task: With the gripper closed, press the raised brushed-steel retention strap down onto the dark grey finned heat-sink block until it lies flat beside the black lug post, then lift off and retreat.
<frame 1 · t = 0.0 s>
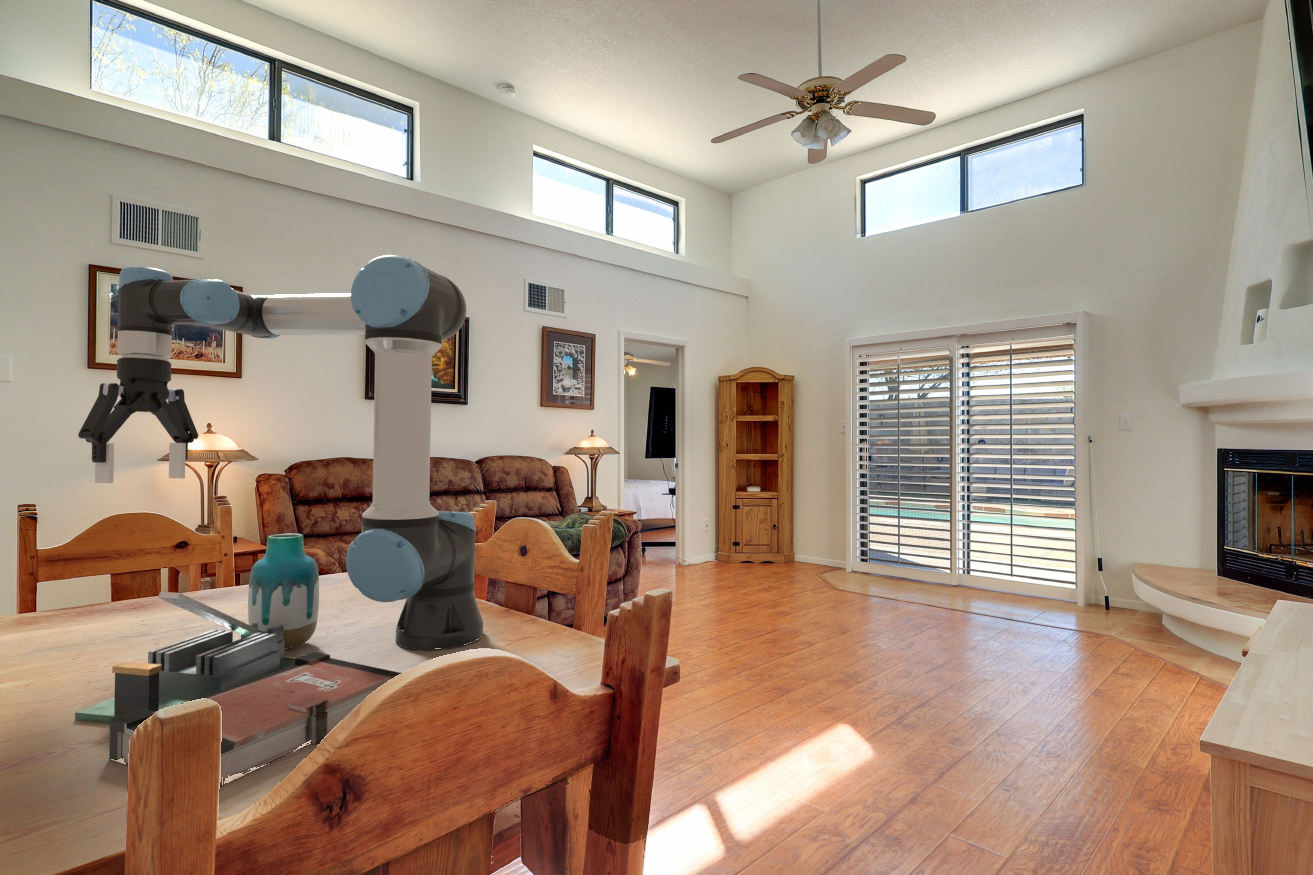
hand: (142, 480, 116), 28 cm above the table, fingers open, 13 cm apart
vase: (283, 648, 114), on the table
heatsink: (206, 689, 94), on the table
brown labeled slab: (272, 733, 83), on the table
strap: (219, 618, 97), point 10 cm above the table, hinge at 32.0°
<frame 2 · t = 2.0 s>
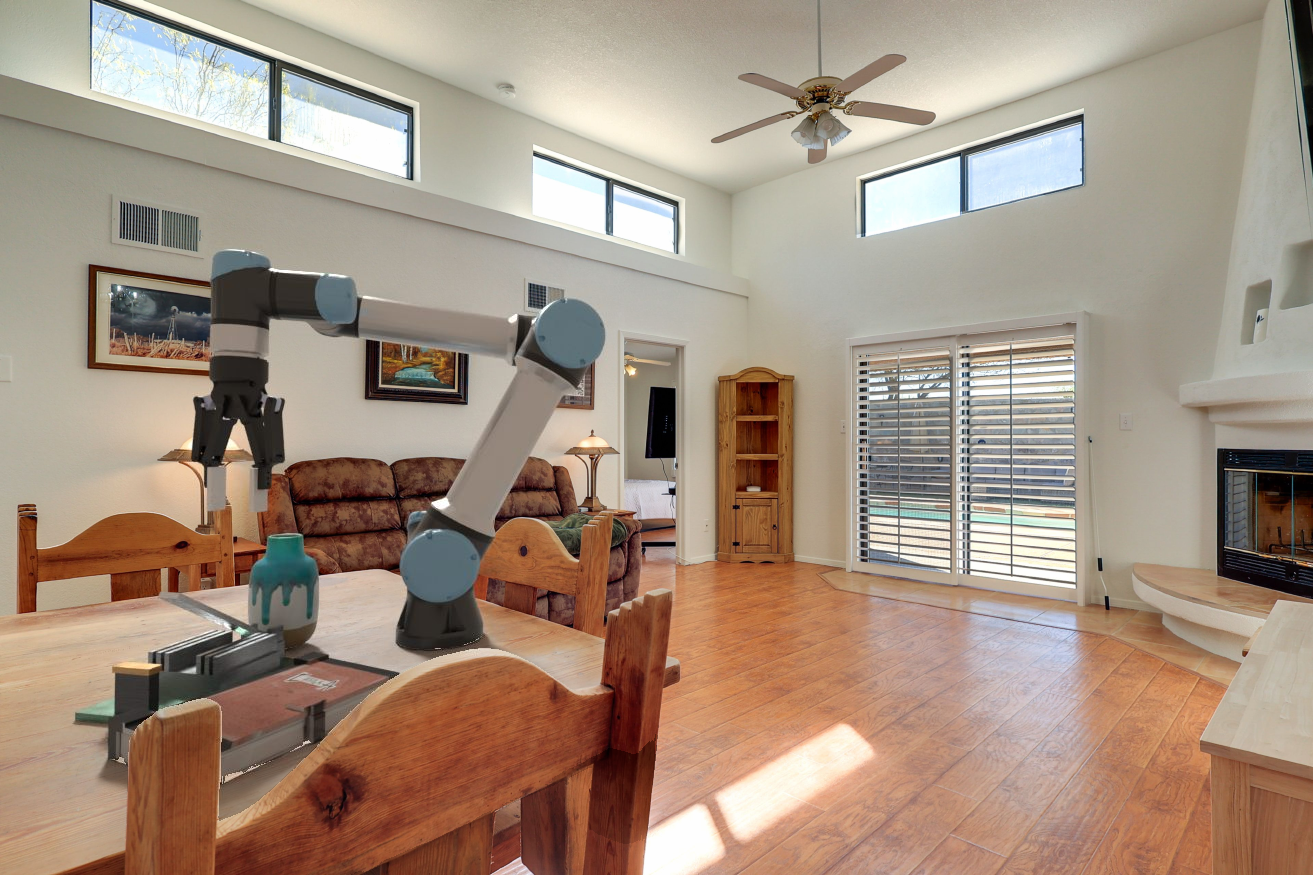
hand: (237, 510, 99), 25 cm above the table, fingers open, 6 cm apart
nothing on the table moved.
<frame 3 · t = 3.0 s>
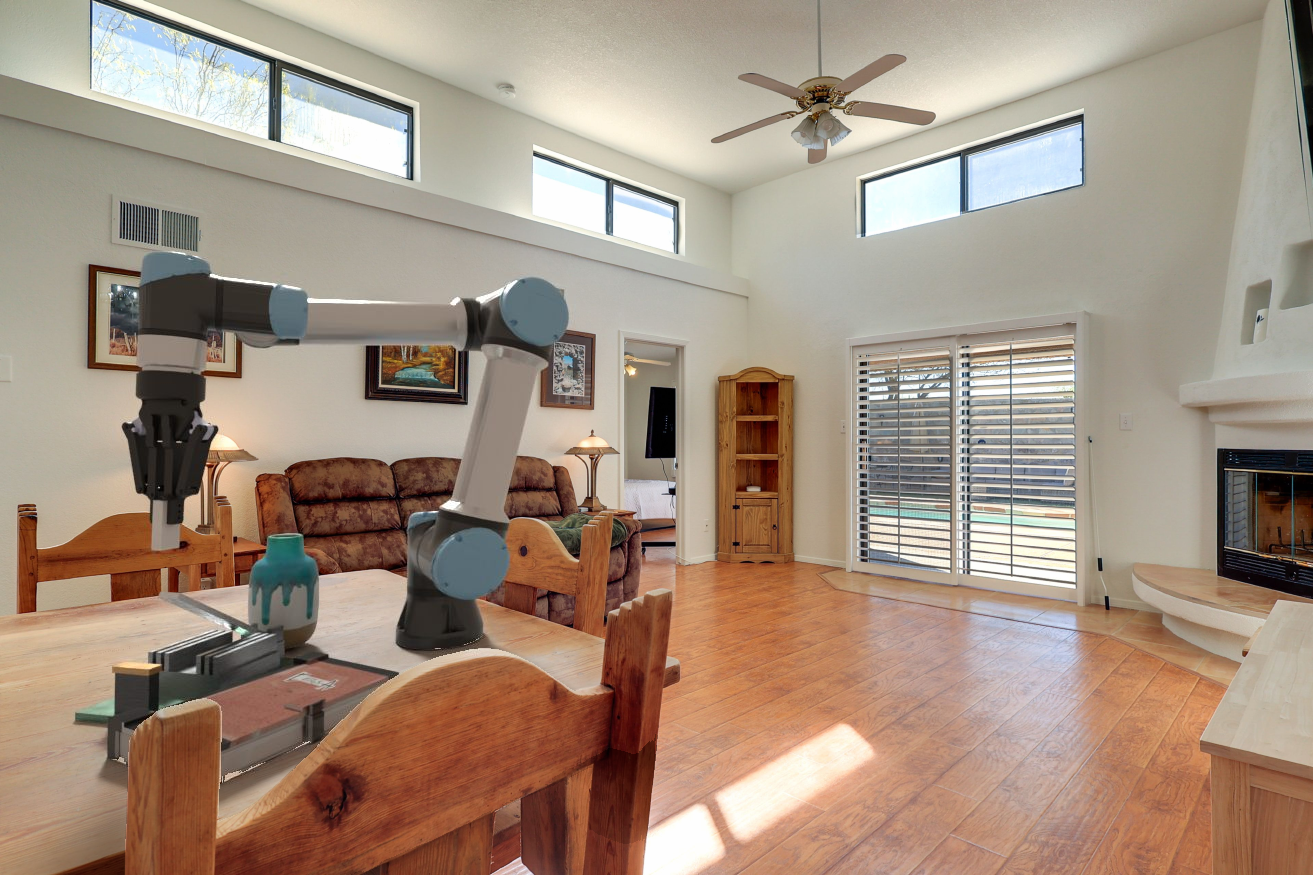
hand: (165, 548, 88), 21 cm above the table, fingers closed
nothing on the table moved.
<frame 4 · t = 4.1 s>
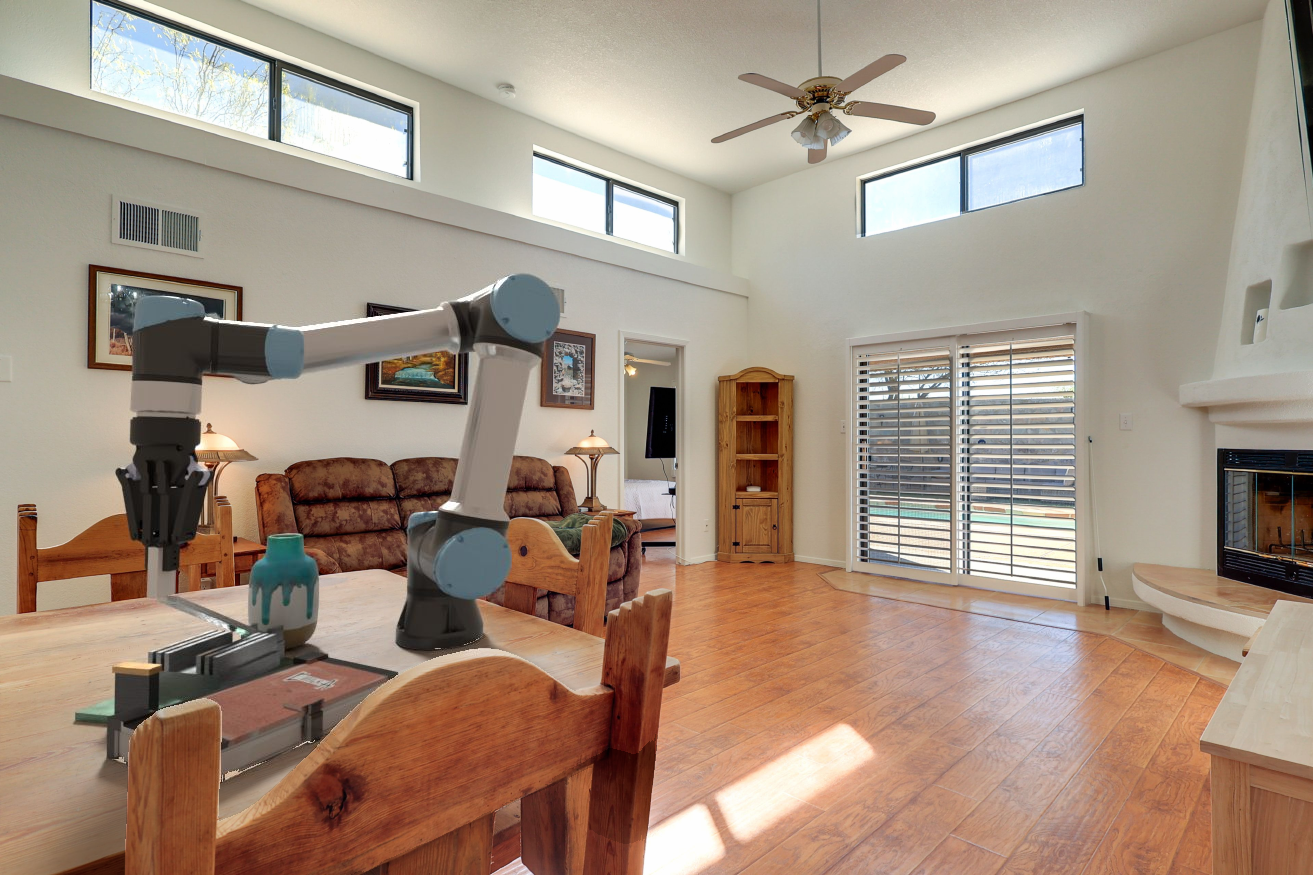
hand: (161, 595, 87), 15 cm above the table, fingers closed
strap: (218, 619, 96), point 9 cm above the table, hinge at 30.6°, touching gripper
everything else where it was.
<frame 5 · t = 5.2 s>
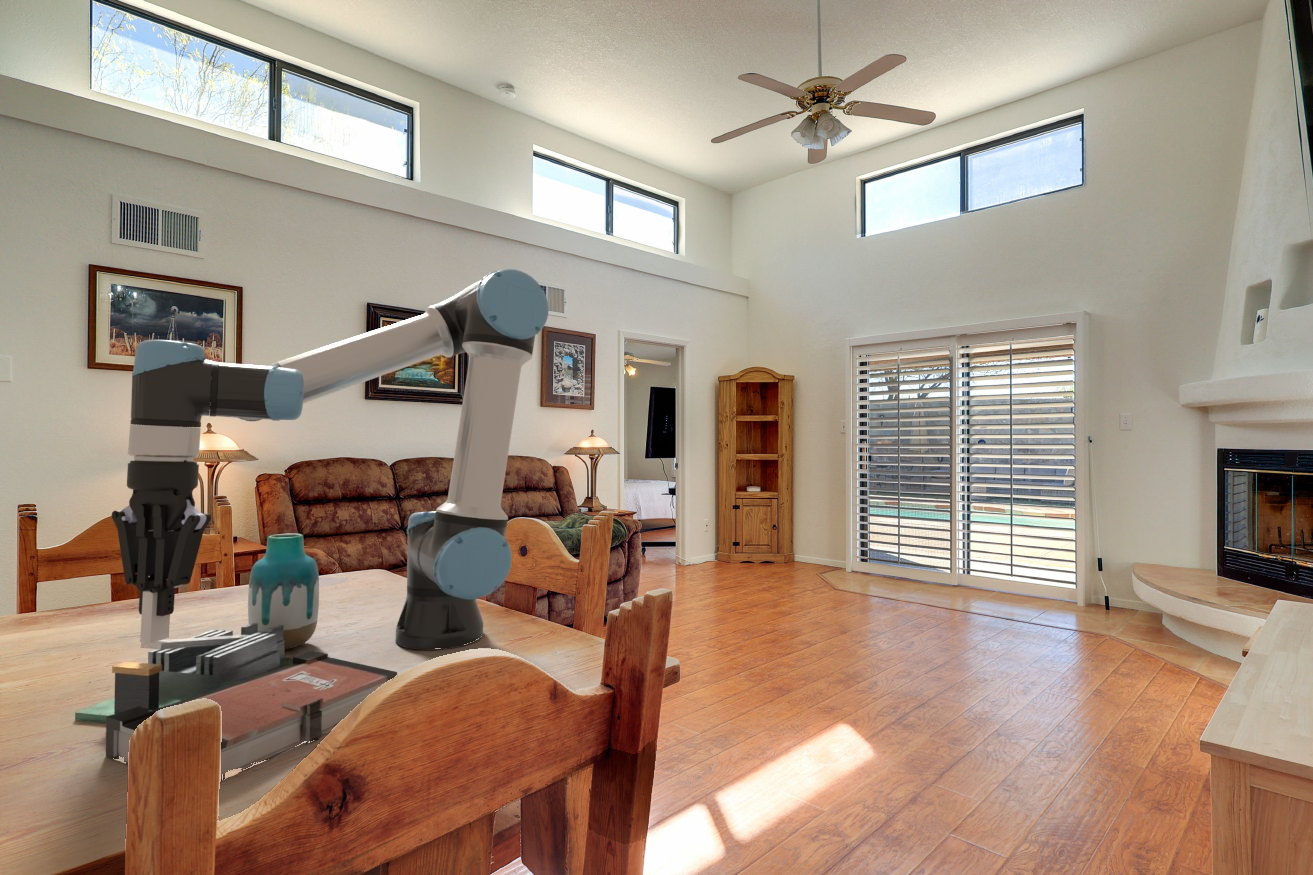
hand: (154, 639, 87), 9 cm above the table, fingers closed
strap: (212, 640, 95), point 7 cm above the table, hinge at 13.3°, touching gripper
everything else where it was.
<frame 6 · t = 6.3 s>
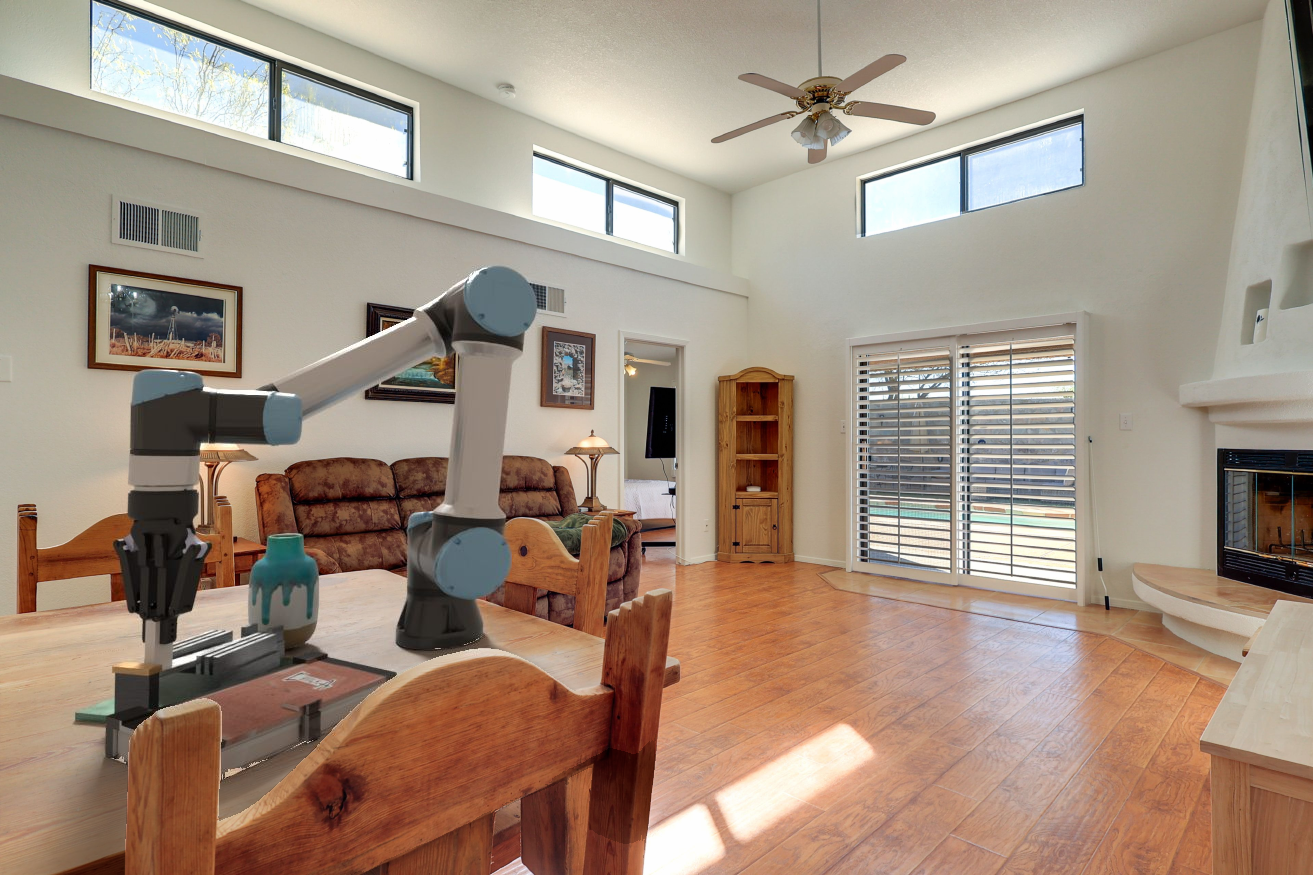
hand: (158, 667, 87), 6 cm above the table, fingers closed
strap: (210, 654, 95), point 5 cm above the table, hinge at 2.7°, touching gripper
everything else where it was.
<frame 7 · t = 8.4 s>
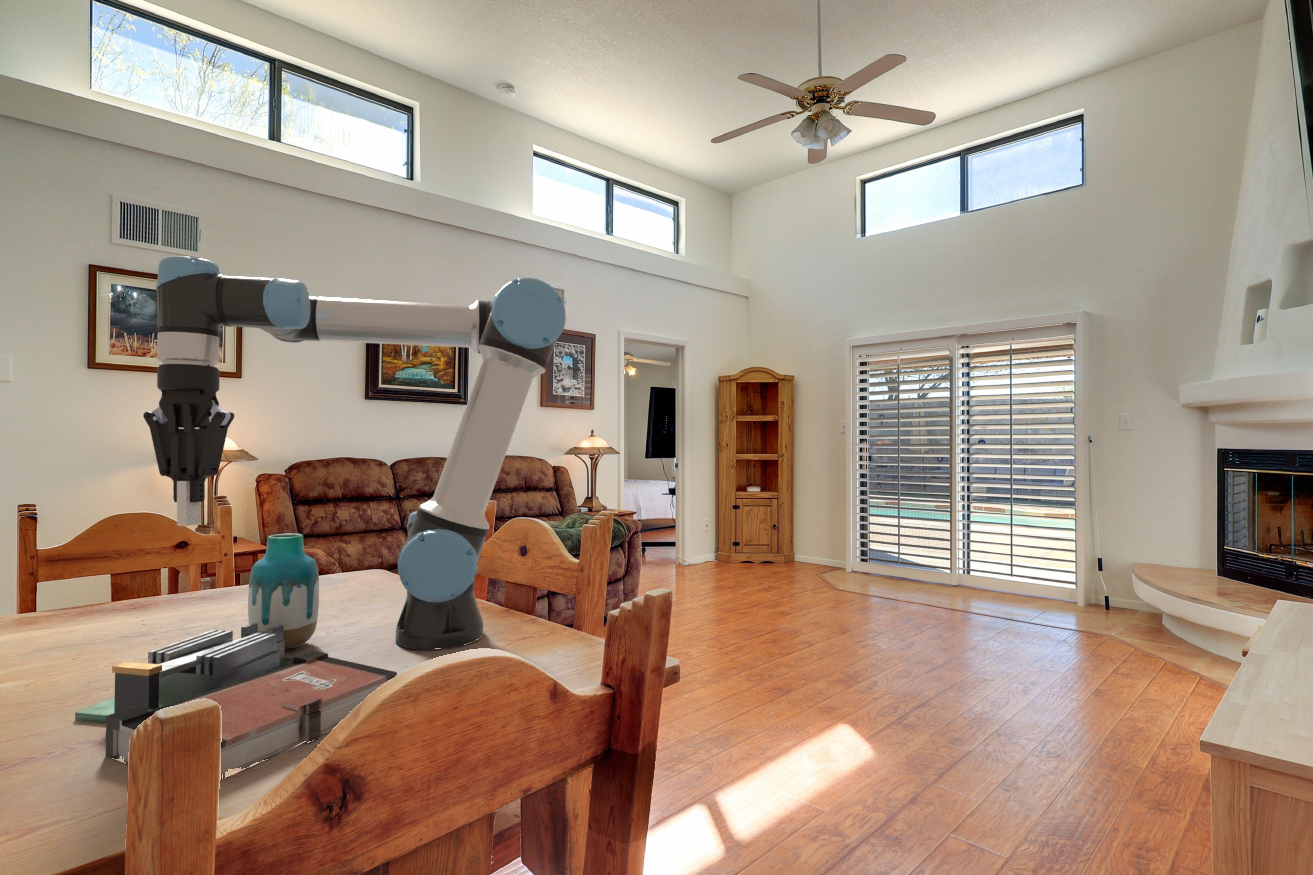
hand: (189, 524, 98), 23 cm above the table, fingers closed
strap: (210, 654, 95), point 5 cm above the table, hinge at 2.6°
everything else where it was.
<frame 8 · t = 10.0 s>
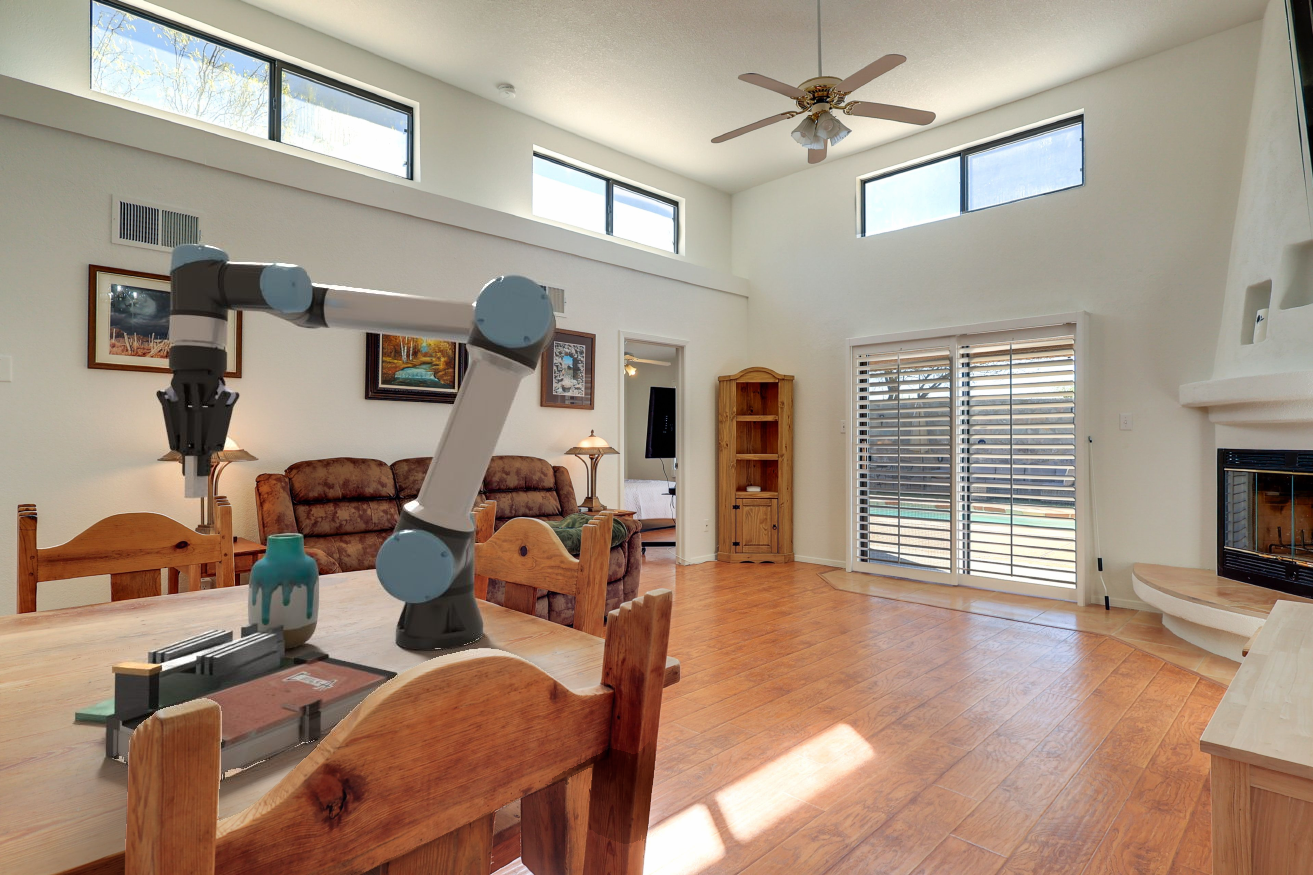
hand: (196, 497, 104), 26 cm above the table, fingers closed
nothing on the table moved.
at the end: strap at +3° (first picture: +32°) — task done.
